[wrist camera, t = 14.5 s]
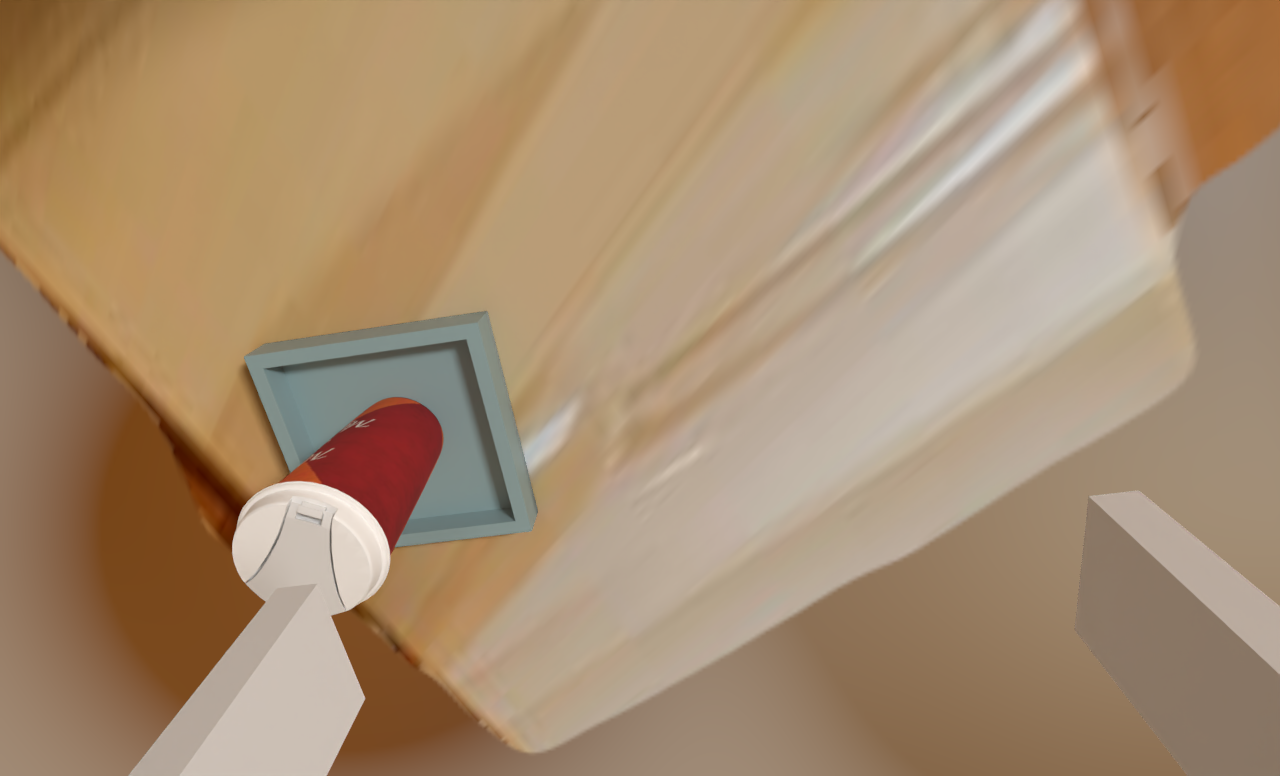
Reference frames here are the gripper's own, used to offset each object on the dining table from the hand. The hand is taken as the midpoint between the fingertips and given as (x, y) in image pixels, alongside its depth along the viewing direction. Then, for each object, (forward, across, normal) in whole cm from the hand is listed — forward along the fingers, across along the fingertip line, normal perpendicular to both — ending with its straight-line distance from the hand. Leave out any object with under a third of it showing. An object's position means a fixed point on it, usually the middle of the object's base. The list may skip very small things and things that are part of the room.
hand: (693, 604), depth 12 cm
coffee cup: (+34, -21, -11) cm, 42 cm away
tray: (+35, -21, -11) cm, 42 cm away
